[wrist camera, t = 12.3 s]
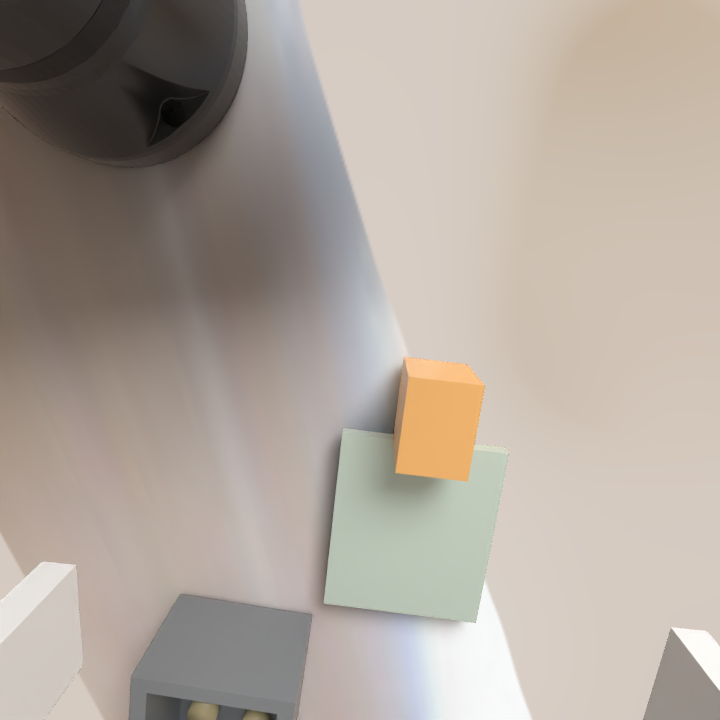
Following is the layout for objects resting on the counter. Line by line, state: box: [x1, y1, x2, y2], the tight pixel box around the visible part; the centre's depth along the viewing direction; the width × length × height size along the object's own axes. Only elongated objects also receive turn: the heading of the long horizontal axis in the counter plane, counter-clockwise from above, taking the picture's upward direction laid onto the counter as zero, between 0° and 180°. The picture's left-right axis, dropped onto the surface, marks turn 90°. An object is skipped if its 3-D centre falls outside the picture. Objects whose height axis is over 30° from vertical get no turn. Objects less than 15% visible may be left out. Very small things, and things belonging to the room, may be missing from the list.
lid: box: [324, 357, 509, 623], centre depth 29 cm, size 18×11×6 cm, turn 174°
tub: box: [129, 594, 312, 720], centre depth 32 cm, size 12×10×7 cm
